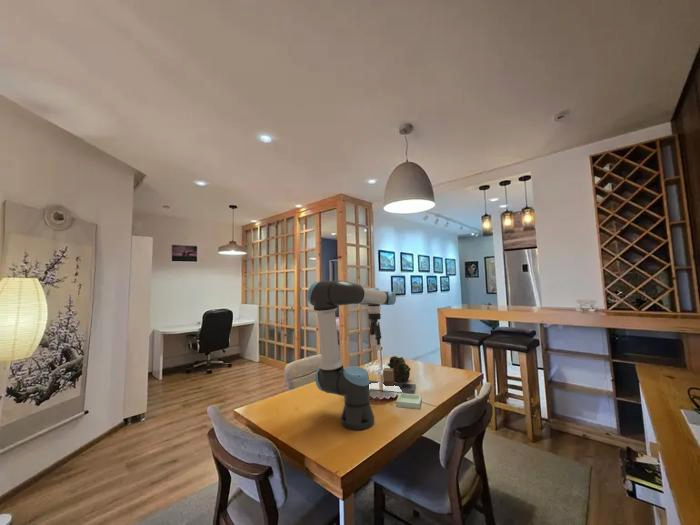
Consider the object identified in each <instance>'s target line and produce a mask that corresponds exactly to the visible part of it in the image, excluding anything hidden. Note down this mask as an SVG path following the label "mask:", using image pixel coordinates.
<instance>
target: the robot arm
mask: <svg viewBox="0 0 700 525" xmlns="http://www.w3.org/2000/svg"><path fill="white" fill-rule="evenodd" d="M307 301H308V303H309V304H310V305H312V306H313V311H314V312H315V313H316V314H317V322H318V335H319V344H320V357H321V362H320V363H319V365H318V368H317V370H316V371H315V372H316V373H315V378H314V380H315V385H316V387H317V388H318V390H320V391H322V392H324V393H327V394H333V395H337V396H342V397H344V399H343V400H344V405H343V408H342V413H341V416H340V424H341V426H343V427H344V428H346V429H347V430H351V431H361V430H366V429H369V428H371V427H373V425H374V424H375V415H374V412H373V409H372V406H371V400H370V399H371V396H370V395H371V394H370V391H371V390H369V383H370V381H369V380H370V375H369V372H368V371H367V370H366V369H365V368H364V367H360V366H354V365H351V366H350V365H349V366H346V367H344V362H343V361H342V360H340V352H339V351H340V350H339V342H338V341H339V340H338V330H337V329H338V328H337V319H336V311H337V309H338V308H339V306H346V305H361V306H366V305H367V312H368V319H369V320H370V325H369V334H370V346H375V351H381V349H382V348H381V347H382V346H381V344H382V343H381V339H382V333H381V332H382V331H381V327H380V326H381V325H380V321H379V320H381V318H382V317H381V309H382V307H381V306H383V305H384V306H391V305H393V306H394V304H396V302H397V295H396V293H395V292H394V291H389V290H388V291H386V290H385V291H383V290H380V288H378V287H370V288H369V287H363V286H362V285H361V284H358V283H353V282H351V281H346V280H320V281H319V280H318V281H314V282H313V283H312V284H311V285H310V287H309V288H308V290H307Z"/></svg>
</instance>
